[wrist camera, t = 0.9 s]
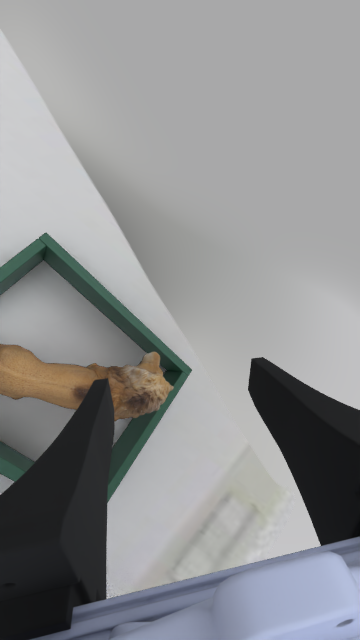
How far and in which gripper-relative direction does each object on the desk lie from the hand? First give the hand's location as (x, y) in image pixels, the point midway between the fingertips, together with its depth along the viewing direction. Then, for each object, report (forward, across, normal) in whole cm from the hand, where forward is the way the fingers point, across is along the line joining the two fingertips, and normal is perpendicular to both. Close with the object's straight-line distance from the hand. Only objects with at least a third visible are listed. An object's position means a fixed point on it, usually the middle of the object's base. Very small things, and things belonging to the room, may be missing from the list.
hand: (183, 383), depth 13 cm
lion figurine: (+10, +9, +6) cm, 15 cm away
